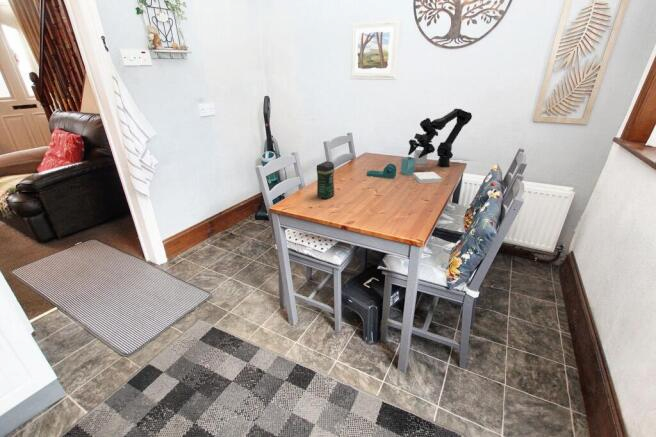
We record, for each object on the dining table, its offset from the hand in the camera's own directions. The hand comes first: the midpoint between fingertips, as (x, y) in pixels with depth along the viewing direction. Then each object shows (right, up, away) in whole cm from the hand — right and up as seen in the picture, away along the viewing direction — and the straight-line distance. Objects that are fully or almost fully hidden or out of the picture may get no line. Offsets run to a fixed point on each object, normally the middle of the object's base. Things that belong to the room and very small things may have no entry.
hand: (413, 156), depth 193 cm
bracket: (-21, -13, 0) cm, 25 cm away
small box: (+11, -1, +24) cm, 26 cm away
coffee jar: (-56, -28, -29) cm, 69 cm away
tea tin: (-3, -11, +3) cm, 11 cm away
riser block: (+6, -16, -8) cm, 19 cm away
